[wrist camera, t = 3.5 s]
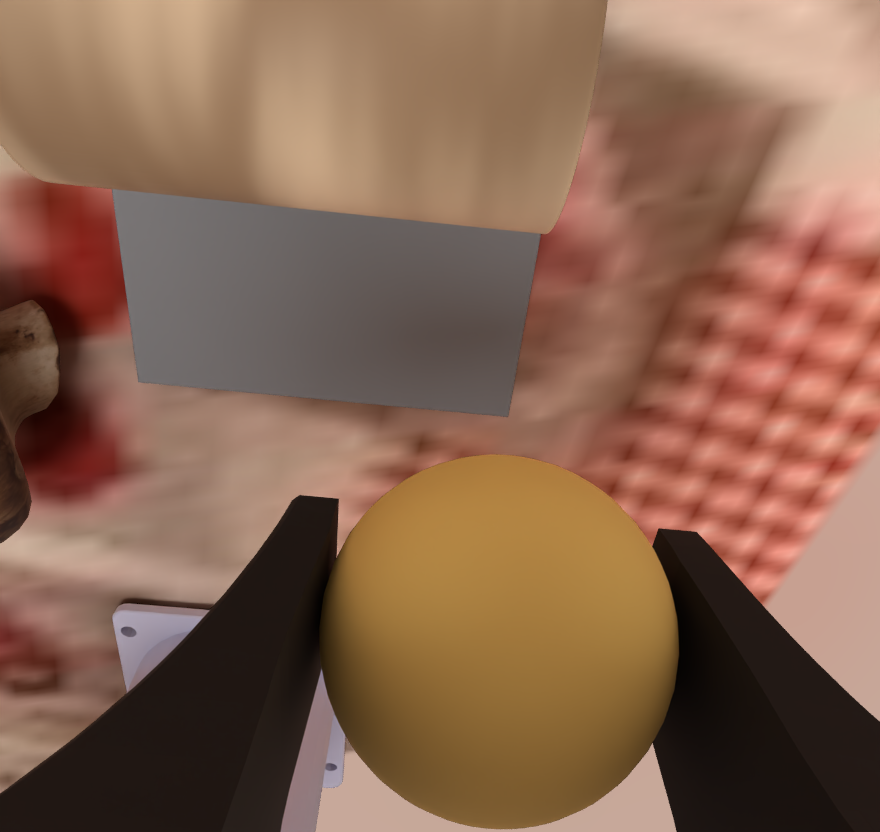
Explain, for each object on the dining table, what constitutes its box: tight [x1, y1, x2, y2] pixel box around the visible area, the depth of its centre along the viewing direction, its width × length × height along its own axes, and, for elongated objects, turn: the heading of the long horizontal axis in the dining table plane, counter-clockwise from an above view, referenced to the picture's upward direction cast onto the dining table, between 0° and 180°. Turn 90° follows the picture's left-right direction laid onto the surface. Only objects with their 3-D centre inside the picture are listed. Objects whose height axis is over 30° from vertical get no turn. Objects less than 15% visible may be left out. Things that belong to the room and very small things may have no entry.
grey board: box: [112, 189, 541, 417], centre depth 16 cm, size 16×10×1 cm, turn 174°
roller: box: [0, 0, 607, 234], centre depth 13 cm, size 6×9×6 cm, turn 84°
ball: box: [319, 454, 679, 829], centre depth 11 cm, size 5×5×5 cm
